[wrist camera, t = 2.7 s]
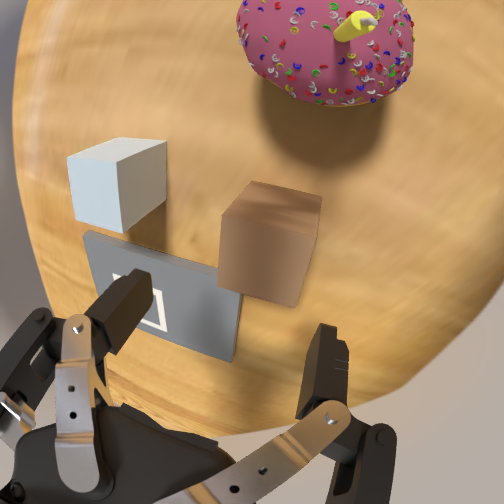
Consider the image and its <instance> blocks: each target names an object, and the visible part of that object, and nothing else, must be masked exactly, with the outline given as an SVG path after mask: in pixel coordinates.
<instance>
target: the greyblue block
mask: <svg viewBox="0 0 504 504" xmlns="http://www.w3.org/2000/svg"><path fill="white" fill-rule="evenodd" d="M166 154H167V141H161V140H150V139H137V138H121V137H118V138H115V139H112V140H109V141H107V142H104V143H101V144H98V145H96V146H93V147H91V148H88V149H86V150H83V151H81V152H78V153H76V154H73V155H71V156H69V157H67V165H68V174H69V182H70V189H71V195H72V201H73V207H74V213H75V218H76V220H78V221H81V222H85V223H88V224H91V225H95V226H98V227H102V228H105V229H108V230H112V231H115V232H119V233H122V234H123V233H125V232H126V231H127V230H128V229H130V228H131V227H132V226H133V225H134V224H136V223H137V222H138V221H139V220H141V219H142V218H143V217H145V216H146V215H147V214H148V213H150V212H151V211H152V210H154V209H155V208H156V207H157V206H159V205H160V204H161V203H163V202H164V201H165V200H166Z"/></svg>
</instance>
